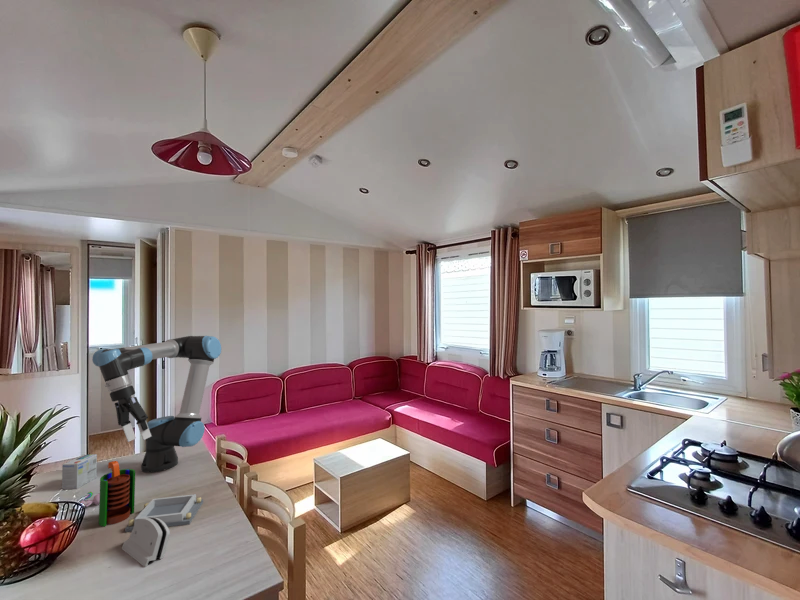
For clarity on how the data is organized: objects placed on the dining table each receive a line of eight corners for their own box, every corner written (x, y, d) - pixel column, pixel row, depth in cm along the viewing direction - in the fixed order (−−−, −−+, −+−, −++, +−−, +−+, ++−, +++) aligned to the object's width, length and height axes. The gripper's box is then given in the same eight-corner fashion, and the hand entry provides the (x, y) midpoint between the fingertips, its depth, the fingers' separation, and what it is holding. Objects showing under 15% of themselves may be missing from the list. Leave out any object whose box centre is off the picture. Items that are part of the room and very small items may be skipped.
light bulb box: (82, 478, 164) (82, 454, 164) (97, 477, 164) (97, 453, 164) (60, 489, 153) (61, 464, 153) (77, 489, 153) (77, 463, 154)
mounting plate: (146, 508, 137) (146, 499, 137) (203, 502, 141) (203, 492, 141) (125, 532, 122) (125, 521, 122) (189, 524, 127) (189, 513, 127)
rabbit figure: (71, 518, 133) (121, 497, 144) (68, 503, 133) (118, 483, 143) (70, 512, 138) (119, 492, 148) (67, 497, 137) (116, 478, 148)
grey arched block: (121, 548, 114) (133, 513, 117) (137, 545, 118) (149, 511, 121) (145, 567, 105) (158, 529, 108) (162, 564, 109) (174, 526, 112)
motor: (111, 527, 125) (112, 469, 126) (91, 525, 127) (92, 467, 127) (138, 511, 135) (139, 458, 136) (118, 509, 137) (119, 456, 137)
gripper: (96, 396, 143) (115, 445, 144) (123, 388, 130) (143, 442, 131) (118, 388, 150) (136, 436, 150) (145, 380, 137) (164, 432, 138)
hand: (139, 439), depth 141 cm, fingers open, 13 cm apart
